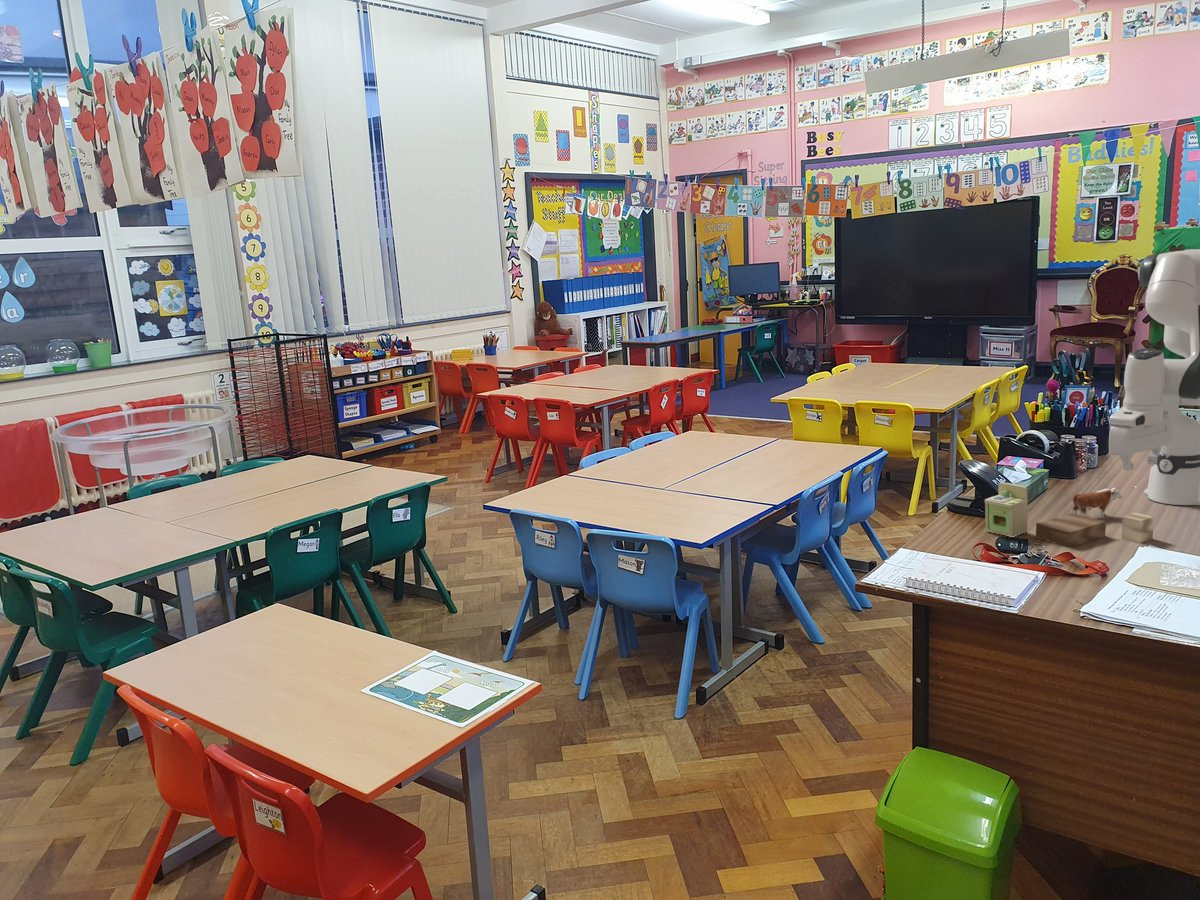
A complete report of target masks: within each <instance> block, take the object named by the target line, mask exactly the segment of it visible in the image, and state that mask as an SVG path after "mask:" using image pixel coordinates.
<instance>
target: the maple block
mask: <svg viewBox="0 0 1200 900" xmlns="http://www.w3.org/2000/svg"><path fill="white" fill-rule="evenodd" d="M1154 517H1155V516H1151V515H1145V514H1142V513H1138V512H1132V513H1129V514H1127V515H1123V516H1122V518H1121V519H1122V520H1121V521H1122V522H1121V523H1122V524H1121V539H1124V540H1127V541H1131V542H1135V543H1139V544H1140V543H1145V542H1147V541H1151V540H1153V539H1154V537H1153V536H1154Z"/></svg>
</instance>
